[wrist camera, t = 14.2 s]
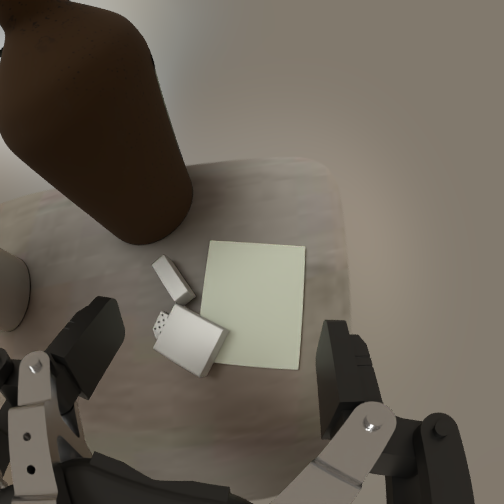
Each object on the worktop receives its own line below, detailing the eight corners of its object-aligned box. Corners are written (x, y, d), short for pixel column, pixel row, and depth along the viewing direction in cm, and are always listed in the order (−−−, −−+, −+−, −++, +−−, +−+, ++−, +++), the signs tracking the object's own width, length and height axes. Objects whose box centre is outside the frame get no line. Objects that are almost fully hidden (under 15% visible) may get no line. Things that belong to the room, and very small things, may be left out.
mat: (196, 359, 21) (195, 359, 21) (211, 242, 24) (210, 240, 24) (297, 369, 21) (298, 369, 20) (304, 248, 24) (305, 246, 23)
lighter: (198, 377, 19) (119, 326, 21) (206, 376, 20) (130, 328, 22) (242, 291, 20) (157, 250, 23) (246, 296, 22) (166, 257, 24)
